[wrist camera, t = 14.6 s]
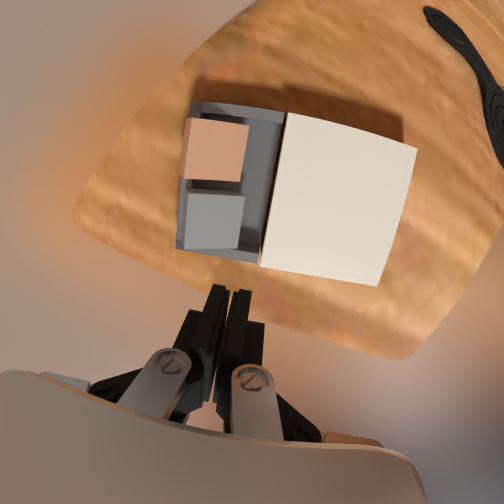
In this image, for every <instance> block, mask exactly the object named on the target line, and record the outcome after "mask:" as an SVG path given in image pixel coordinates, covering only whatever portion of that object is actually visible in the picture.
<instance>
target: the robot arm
mask: <svg viewBox="0 0 504 504" xmlns="http://www.w3.org/2000/svg"><path fill="white" fill-rule="evenodd" d="M251 294H252V291H249V290H244V289H239V292H236V291H234V293H233V297H232V301H231V305H230V309H229V313H228V317H227V321H226V316H227V308H228V303H229V296H230V290H226V286H222V285H217V284H213V286H212V288H211V291H210V293H209V296H208V299H207V301H206V304H205V306H204V309H203V311H202V312H200V311H196V310H189V312H188V314H187V316H186V318H185V320H184V322H183V325H182V327H181V330H180V331H179V334H178V336H177V338H176V341H175V343H174V345H173V347H172V348H165V349H161V350H159V351H157V352H155V353H154V354H153V355H152V357H151V358H150V359H149V361H148V362H147V363H146V365H145V366H144V367H143V368H141V369H138V370H134V371H131V372H128V373H125V374H122V375H119V376H115V377H112V378H109V379H105V380H102V381H99V382H97V383H95V384H90V382H89V381H87V380H82V379H77V378H72V377H67V376H62V375H58V374H54V373H50V372H42V373H39V374H38V373H34V372H30V371H22V370H7V371H3V372H1V373H0V504H428V503H427V498H426V494H425V490H424V487H423V484H422V481H421V478H420V475H419V473H418V471H417V469H416V467H415V465H414V464H413V463H412V461H411V460H410V459H408V458H407V457H406V456H404V455H402V454H400V453H397V452H395V451H392V450H388V449H385V448H384V447H383V445H382V444H381V443H380V442H378V441H376V440H373V439H368V438H362V437H357V436H351V435H346V434H341V433H336V432H332V431H327V432H326V433H324V432H320V431H319V430H318V429H317V427H316V426H315V425H313V424H312V423H311V422H310V421H308V420H307V419H306V418H305V417H304V416H303V415H301V414H300V413H299V412H298V411H297V410H295V409H294V408H293V407H292V406H291V405H290V404H289V403H287V402H286V401H285V400H284V399H283V398H282V397H281V396H280V395H278V394H277V393H276V391H275V385H274V379H273V377H272V375H271V374H270V372H269V371H268V370H267V369H265V368H264V367H262V356H263V342H264V327H265V326H264V325H265V324H264V323H259V322H253V321H248V314H249V307H250V301H251ZM225 323H226V325H225ZM216 368H217V369H216ZM215 372H216V377H215V386H214V394H213V403H217V406H216V412H217V413H218V415H219V416H220V417H221V418H222V419H223V420H224V421H223V433H222V432H216V431H212V430H207V429H201V428H197V427H193V426H188V425H186V423H187V421H188V419H189V417H190V413H191V412H192V411H194V410H196V409H198V408H199V407H200V408H201V407H202V404H203V401H207V402H208V401H209V397H210V393H211V389H212V384H213V380H214V376H215Z"/></svg>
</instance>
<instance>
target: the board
mask: <svg viewBox="0 0 504 504" xmlns="http://www.w3.org/2000/svg"><path fill="white" fill-rule="evenodd" d="M416 153H417V149H416V148H414V147H411V146H408V145H406V144H403V143H400V142H397V141H394V140H391V139H388V138H385V137H382V136H379V135H376V134H373V133H370V132H366V131H363V130H360V129H356V128H353V127H349V126H345V125H342V124H338V123H334V122H330V121H326V120H322V119H317V118H313V117H308V116H304V115H299V114H294V113H289V112H288V114H287V117H286V122H285V128H284V134H283V139H282V145H281V150H280V156H279V161H278V167H277V172H276V178H275V183H274V188H273V194H272V199H271V205H270V210H269V215H268V221H267V226H266V231H265V237H264V242H263V247H262V252H261V260H260V267H266V268H272V269H277V270H283V271H289V272H295V273H301V274H306V275H312V276H318V277H324V278H330V279H336V280H342V281H348V282H354V283H360V284H366V285H372V286H377V285H378V282H379V280H380V277H381V274H382V272H383V269H384V266H385V263H386V261H387V258H388V255H389V252H390V249H391V246H392V243H393V240H394V237H395V234H396V230H397V227H398V224H399V221H400V217H401V214H402V210H403V207H404V203H405V199H406V196H407V192H408V188H409V184H410V180H411V176H412V171H413V167H414V162H415V158H416Z"/></svg>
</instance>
